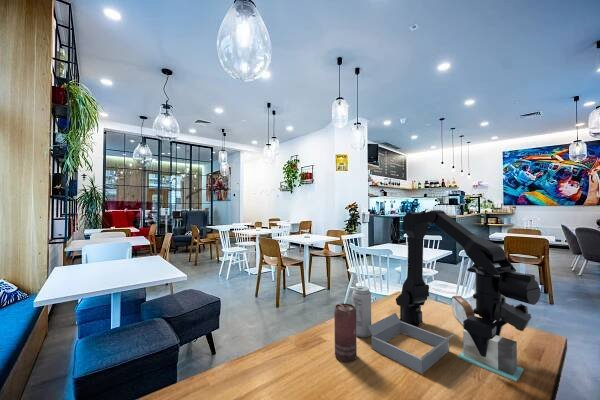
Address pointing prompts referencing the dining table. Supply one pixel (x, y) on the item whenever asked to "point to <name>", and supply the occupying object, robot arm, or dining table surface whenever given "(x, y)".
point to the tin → (461, 308)
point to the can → (345, 332)
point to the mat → (512, 377)
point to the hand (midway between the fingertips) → (489, 349)
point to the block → (493, 353)
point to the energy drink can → (362, 310)
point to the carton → (394, 327)
